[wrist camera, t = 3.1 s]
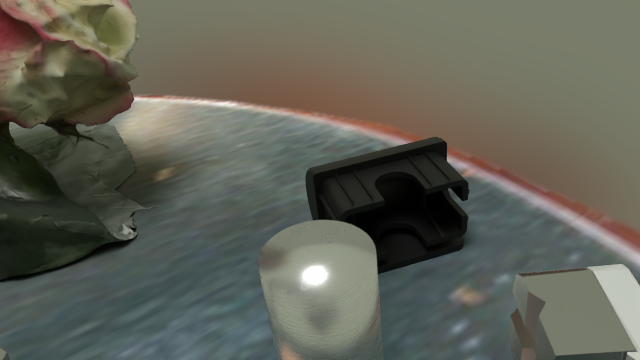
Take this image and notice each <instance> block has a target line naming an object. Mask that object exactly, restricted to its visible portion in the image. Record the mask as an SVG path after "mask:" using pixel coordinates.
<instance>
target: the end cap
mask: <svg viewBox="0 0 640 360" xmlns="http://www.w3.org/2000/svg"><path fill="white" fill-rule="evenodd" d="M449 188H451V189H452V190H453V191H454V193H455V194H456V195H457V196H458V197H459V198H460V199H461V200H462V201H465V200H468V194H469V189H468V182H467V181H466V180H465V179H464V178H463V177H462V176H461V175H460V174H459V173H458V172H457V171H456V170H455V169H454V168H453V167H452V166H451V165H450V164H449V163H448V162H447V143H446V142H445V141H444V140H443V139H441V138H438V137H432V138H428V139H424V140H420V141H416V142H412V143H408V144H404V145H400V146H396V147H392V148H388V149H384V150H380V151H376V152H372V153H368V154H364V155H360V156H356V157H352V158H348V159H344V160H340V161H336V162H332V163H328V164H324V165H320V166H316V167H312V168H309V169H308V170H307V173H306V191H307V197H308V202H309V206H310V211H311V214H312V218H313V221H314V220H334V221H341V222H345V223H348V224H351V225H354V226H356V227H358V228H360V229H361V230H363V231H364V232H365V233H367V234H368V235H369V237H370V238H371V239H372V241H373V242H374V245H375V248H376V256H377V271H378V274H380V273H383V272H387V271H390V270H394V269H397V268H400V267H404V266H407V265H411V264H414V263H418V262H421V261H424V260H428V259H431V258H435V257H438V256H441V255H445V254H448V253H452V252H455V251H459V250H460V249H462V247H463V238H462V237H461V236H462V235H464V233H465V232H466V230H467V221H468V217H467V214H466V213H465V212H464V211H463V210H462V209H461V208H460V206H459V205H458V204H457V203H456V202H455V201H454V200H453V199H452V198H451V196H450V194H449V191H448V189H449Z"/></svg>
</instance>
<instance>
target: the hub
mask: <svg viewBox="0 0 640 360" xmlns="http://www.w3.org/2000/svg"><path fill="white" fill-rule="evenodd" d="M258 267H259V273H260V277H261V282H262V287H263V292H264V297H265V302H266V307H267V312H268V317H269V321H270V326H271V331H272V336H273V341H274V346H275V351H276V356H277V360H383V347H382V332H381V317H380V302H379V286H378V271H377V256H376V248H375V245H374V242H373V241H372V239H371V238H370V237H369V235H368V234H367V233H365V232H364V231H363V230H361V229H360V228H358V227H356V226H354V225H351V224H348V223H345V222H341V221H334V220H314V221H308V222H303V223H299V224H296V225H293V226H290V227H288V228H286V229H284V230H282V231H281V232H279V233H277V234H276V235H275V236H273V237H272V238H271V239H270V240H269V241H268V242H267V243H266V244H265V245H264V247H263V249H262V250H261V253H260V255H259V259H258Z"/></svg>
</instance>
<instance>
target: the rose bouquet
mask: <svg viewBox="0 0 640 360" xmlns="http://www.w3.org/2000/svg"><path fill="white" fill-rule="evenodd" d="M137 24H138V22H137V19H136V17H135V15H134V13H133V12H132V10H131V5H130V3H129V2H128V0H0V280H1V279H4V278H8V277H11V276H18V275H27V274H32V273H36V272H40V271H44V270H47V269H52V268H55V267H58V266H62V265H65V264H67V263H70V262H73V261H75V260H78V259H80V258H82V257H84V256H86V255H88V254H90V253H91V252H92V251H93V250H95V249H96V248H98V247H100V246H101V245H103V244H105V243H108V242H116V241H125V240H128V239H132V238H134V237H135V236H136V235H137V234H138V233H137V232H136V231H135V230H136V226H135V225H134V224H133V218H132V216H133V215H134V213H135V212H134V213H133V214H132V213H131V212H133V211H136V210H142V209H148V208H145V207H143V206H141V205H139V204H138V203H136V202H134V201H132V200H131V199H129V198H127V197H126V196H124V195H123V194H121V193H119V192H118V191H116V190H115V189H116V188H117V187H118V186H119V185H120V184H122V183H123V182H124V181H125V180H126V179H127V178H128V177H129V176H130V175H131V174H132V173H134V172H135V171H136V167H135V165H134V161H132V156H131V154H130V151H128V150H129V149H128V148H126V147H127V145H125V144H123V143H124V141H123V139H122V138H120V137H121V136H119V135H120V134H119V133H118V132H117V130H116V129H115V127H114V126H110V125H107V124H106V125H102V124H105V123H107V122H109V121H110V120H111V119H112V118H113V117H114V116H116V115H117V114H119V113H122V112H124V111H126V110H128V109H129V108H130V107H131V103H132V102H133V100H134V97H133V94H132V92H131V91H130V85H129V84H128V83H127V82H129V81H131V80H133V79H135V78H136V77H137V76H138V74H137V70H136V68H135V67H134V66H133V65H132V64H130V61H129V53H130V52H131V51H132V49H133V47H134V45H135V43H136V41H137V40H138V39H139V38H141V37H140V36H139V35H138V33H137ZM9 122H14V123H16V124H18V125H19V126H21V127H23V128H33V127H34V126H36V125H38V124H44V125H46V126H49V127H51V128H53V129H54V130H55V131H56V132H57V133H58V134H59V135H60V136H57V137H54V138H51V139H48V140H45V141H44V142H42V143H40V144H38V145H36V146H33V147H31V148H28V149H26V150H23V149H21V148H20V147H18V146H17V145H15V143H14V139H13V138H12V136H11V135H10V131H9ZM76 124H84V125H86V126H94V125H98V126H96V127H95V128H94V129H92V130H90V131H85V132H78V131H77V129H76ZM99 124H100V125H99ZM162 205H163V204H162ZM158 206H160V205H158ZM154 207H157V206H153V207H149V208H154Z"/></svg>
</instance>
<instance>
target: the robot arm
mask: <svg viewBox="0 0 640 360" xmlns="http://www.w3.org/2000/svg"><path fill="white" fill-rule="evenodd" d="M513 296H514V299H515V301H516V304H517V307H518V309H517V310H516V311H515V312H514V313H513V314H512V315H511V319H510V339H511V350H512V354H513V359H514V360H640V285H639V284H638V282H637V281H636V279H635V278H634V276H633V275H632V273H631V272H630V270H629V269H628V268H627V267H625V266H624V265H622V264H617V265H606V266H595V267H586V268H577V269H565V270H553V271H542V272H530V273H518V274H516V277H515V279H514V285H513ZM0 360H10V358H9V356H8V354H7V352H5V351H4V350H2V349H0Z"/></svg>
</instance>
